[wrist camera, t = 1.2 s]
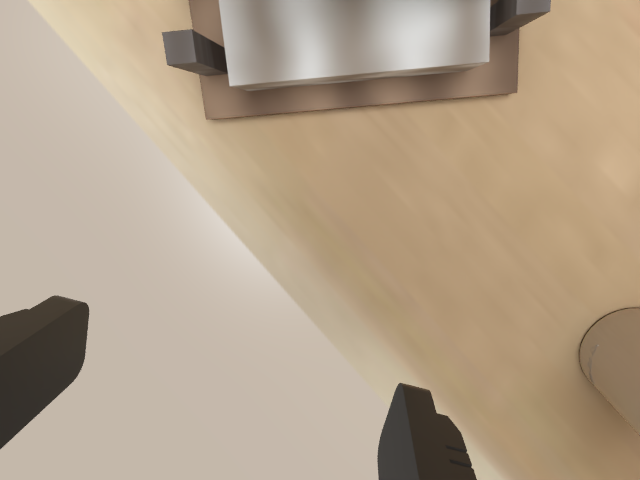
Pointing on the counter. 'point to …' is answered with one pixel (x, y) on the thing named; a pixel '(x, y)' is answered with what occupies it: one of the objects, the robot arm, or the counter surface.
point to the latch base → (348, 52)
